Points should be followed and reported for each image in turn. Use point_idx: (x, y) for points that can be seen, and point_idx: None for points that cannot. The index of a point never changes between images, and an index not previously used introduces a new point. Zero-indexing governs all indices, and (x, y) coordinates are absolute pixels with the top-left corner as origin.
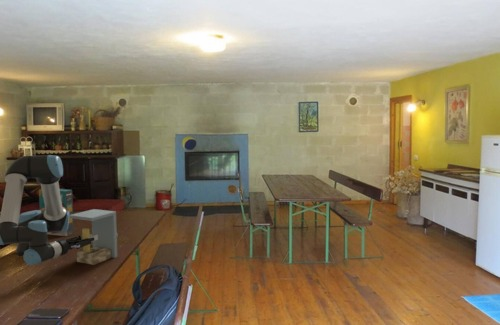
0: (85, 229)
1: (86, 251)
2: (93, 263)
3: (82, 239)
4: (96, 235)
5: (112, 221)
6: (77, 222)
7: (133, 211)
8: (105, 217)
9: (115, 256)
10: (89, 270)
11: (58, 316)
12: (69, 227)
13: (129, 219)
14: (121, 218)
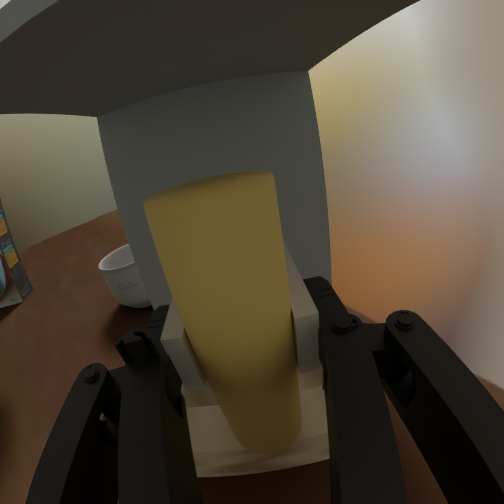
0: (230, 185)
1: (294, 436)
2: None
3: (195, 366)
4: (285, 248)
5: (305, 117)
6: (29, 263)
7: (103, 215)
8: (233, 103)
9: None
10: (436, 499)
11: None
12: (17, 277)
13: (114, 222)
14: (97, 227)
